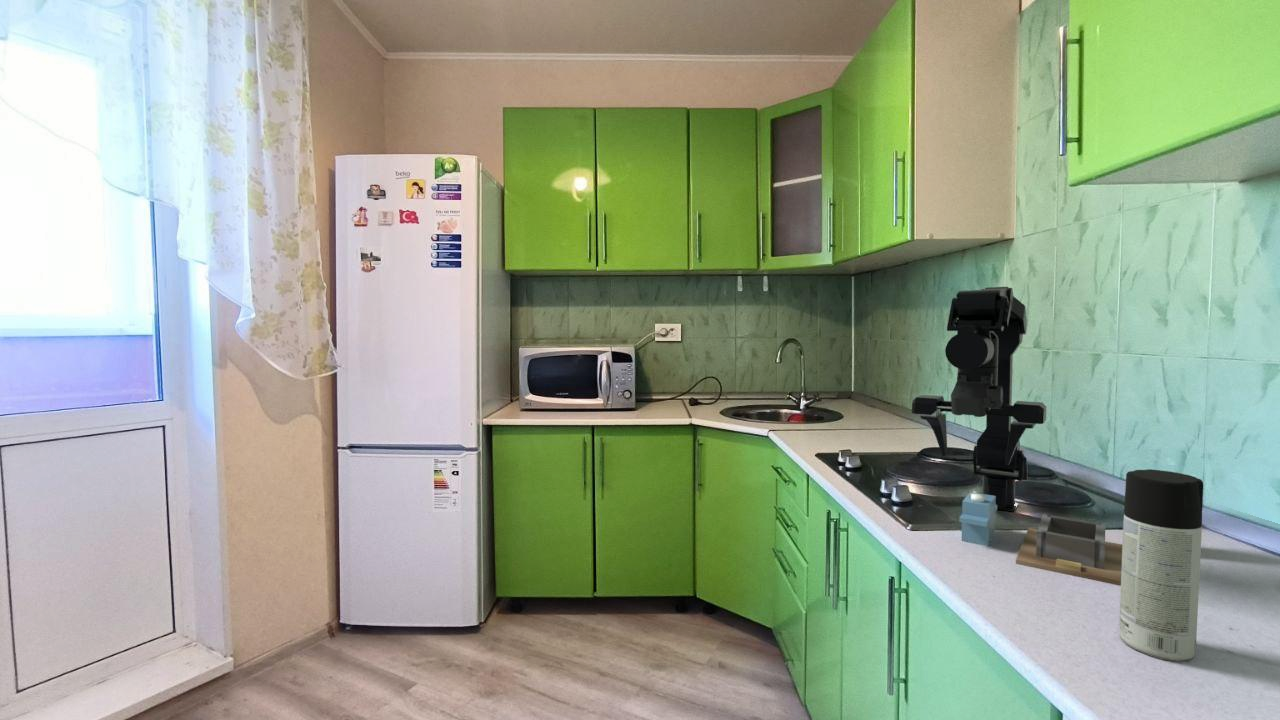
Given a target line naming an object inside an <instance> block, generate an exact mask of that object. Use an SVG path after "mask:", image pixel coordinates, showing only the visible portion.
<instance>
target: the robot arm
mask: <svg viewBox="0 0 1280 720" xmlns="http://www.w3.org/2000/svg"><path fill="white" fill-rule="evenodd" d="M1027 322H1028V318H1027V308H1026V305H1025V304H1024V303H1023V302H1021V301H1020V300H1019V299H1017V297H1016V296H1014V291H1013V288H1012V287H1009V286H993V287H992V286H991V287H985V288H982V289H974V290H973V289H970V290H959V291H958V292H957V293H956V297H953V298H952V299H951V305H950V309H949V316H948V320H947V325H946V326H947V327H946V331H947V332H957V333H956V334H954V336H952V337H951V338H950V339H949V340H948V341H947V344H946V346H945V348H944V349H945V350H944V352H945V353H944V354H945V357H946V360H947V361H948V362H949V364H950V365H952V366H953V367H954V368H957V377H956V382H955V386H953V387H954V388H953V390H952V391H951V394H950V400H945V399H944V396H943V395H930V394H929V395H928V394H921V395H918V396H916V397H915V398H914V399H912V402H911V414H912V415H913V414H914V415H915V414H916V415H920V416H919V417H920V419H921V420H926V422H927V423H928V425H929V426H930V427H931V430H932V431H933V433H934V436H935V439H936V441H937V444H938V446H939V449H940V453H941V455H942V457H947V453H948V439H947V438H948V436H947V434H948V433H947V418H946V417H947V416H946V415H947V414H946V413H943V412H947V413H951V414H953V415H954V416H962V415H964V416H974V417H975V418H983V417H985V419H986V420H985V421H986V424H985V425H986V427H985V429H984V431H983V432H982V433H981V434H980V436H979V438H978V439H977V440H976V445H975V444H974V446H973V452H972V453H973V454H972V461H973V462H972V463H973V475H974V476H977V475H978V476H982V485H981V487H982V488H981V489H982V491H981V492H982V493H981V494H986V495H993V496H996V505H997V510H1001V511H1002V510H1003V511H1006V512H1007V511H1009V512H1016V510H1017V508H1016V506H1014V504H1015V501H1016V500H1015V499H1016V498H1015V497H1016V481H1019V482H1023V481H1027V480H1028V458H1027V457H1026V456H1025V453H1024V450H1022V449H1021V440H1020V439H1021V438H1022V437H1023V435H1024V433H1025V431H1026V430H1027V429H1034V428H1035V426H1036V425H1041V424H1042V425H1044V424H1045V422H1046V420H1047V406H1046V405H1045V403H1044V402H1040V401H1025V400H1023V401H1022V400H1017V401H1016V402H1014V403H1013V402H1012V399H1013V398H1012V396H1013V361H1014V360H1013V356H1014V354H1015V353H1016V351H1017V350H1018V349H1019V347H1020V346H1021V344H1022V343H1023V337H1024V336H1023V335H1026V334H1027V329H1028V327H1027V326H1028V323H1027ZM1012 403H1013V405H1012ZM1012 419H1013V421H1012Z"/></svg>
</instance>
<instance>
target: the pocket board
mask: <svg viewBox="0 0 1280 720" xmlns="http://www.w3.org/2000/svg"><path fill="white" fill-rule="evenodd" d="M1106 527H1107V526H1106V523H1101V522H1100V523H1099V522H1094V521H1087V520H1082V519H1077V518H1071V517H1063V516H1057V515H1051V514H1045V513H1043V514H1042V517H1041V520H1040V522H1039V525H1038V528H1037V529H1036V528H1030V527H1028V528H1027V531H1026V533H1025V536H1024V539H1023V540H1022V543H1021V546H1020V549H1019V550H1018V551H1019V552H1018V553H1017V556H1016V558H1015V563H1016V564H1018V565H1023V566H1028V567H1032V568H1037V569H1042V570H1046V571H1050V572H1055V573H1059V574H1060V573H1061V574H1065V575H1071V576H1075V577H1079V578H1084V579H1088V580H1094V581H1099V582H1104V583H1109V584H1113V585H1118V586H1121V571H1122V548H1123V543H1122V544H1121V543H1115V542H1110V541H1106Z"/></svg>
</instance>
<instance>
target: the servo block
mask: <svg viewBox="0 0 1280 720" xmlns="http://www.w3.org/2000/svg"><path fill="white" fill-rule="evenodd" d="M961 502H962V503H961V504H962V505H961V507H962V509H961V511H962V512H961V513H962V514H960V515H959V519H958V520H959V523H961V542H965V543H969V544H975V545H978V546H979V545H980V546H984V547H990V544H991V542H992V540H993V539H994V536H995V533H996V512H997V511H998V509H997V505H996V496H993V495H986V494H982V493H978V492H973V491H972V492H971V491H969V493H968V494H967V495H966V496H965V497H964V499H963V500H962V501H961Z"/></svg>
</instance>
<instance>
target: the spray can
mask: <svg viewBox="0 0 1280 720" xmlns="http://www.w3.org/2000/svg"><path fill="white" fill-rule="evenodd" d="M1125 475H1126V476H1125V489H1124V491H1125V492H1124V505H1123V506H1124V508H1123V522H1122V523H1123V524H1122V526H1123V527H1122V545H1123V548H1122V571H1121V585H1120V596H1119V597H1120V601H1119V617H1118V618H1119V625H1118V627H1119V628H1118V632H1119V637H1120V639H1121V641H1122V642H1123V643H1124V644H1125V645H1126V646H1128V647H1130V648H1132V649H1133V650H1136V651H1138V652H1141V653H1143V654H1145V655H1147V656H1151V657H1153V658H1156V659H1161V660H1164V659H1165V660H1164V661H1174V660H1175V662H1176V661H1177V662H1184V661H1191V660H1192V659H1193V658H1194V656H1195V655H1196V650H1197V637H1198V636H1197V635H1198V633H1197V632H1198V617H1199V616H1198V614H1199V613H1198V612H1199V611H1198V610H1199V595H1200V594H1199V593H1200V592H1199V591H1200V576H1201V575H1200V571H1201V555H1202V554H1201V553H1202V536H1203V535H1202V533H1203V531H1202V529H1203V506H1204V505H1203V501H1204V498H1203V497H1204V482H1203V480H1202V479H1201V478H1198V477H1196V476H1193V475H1190V474H1185V473H1180V472H1174V471H1169V470H1161V469H1151V468H1150V469H1148V468H1147V469H1135V470H1132V471H1131V470H1130V471H1127V472H1126V474H1125Z"/></svg>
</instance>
